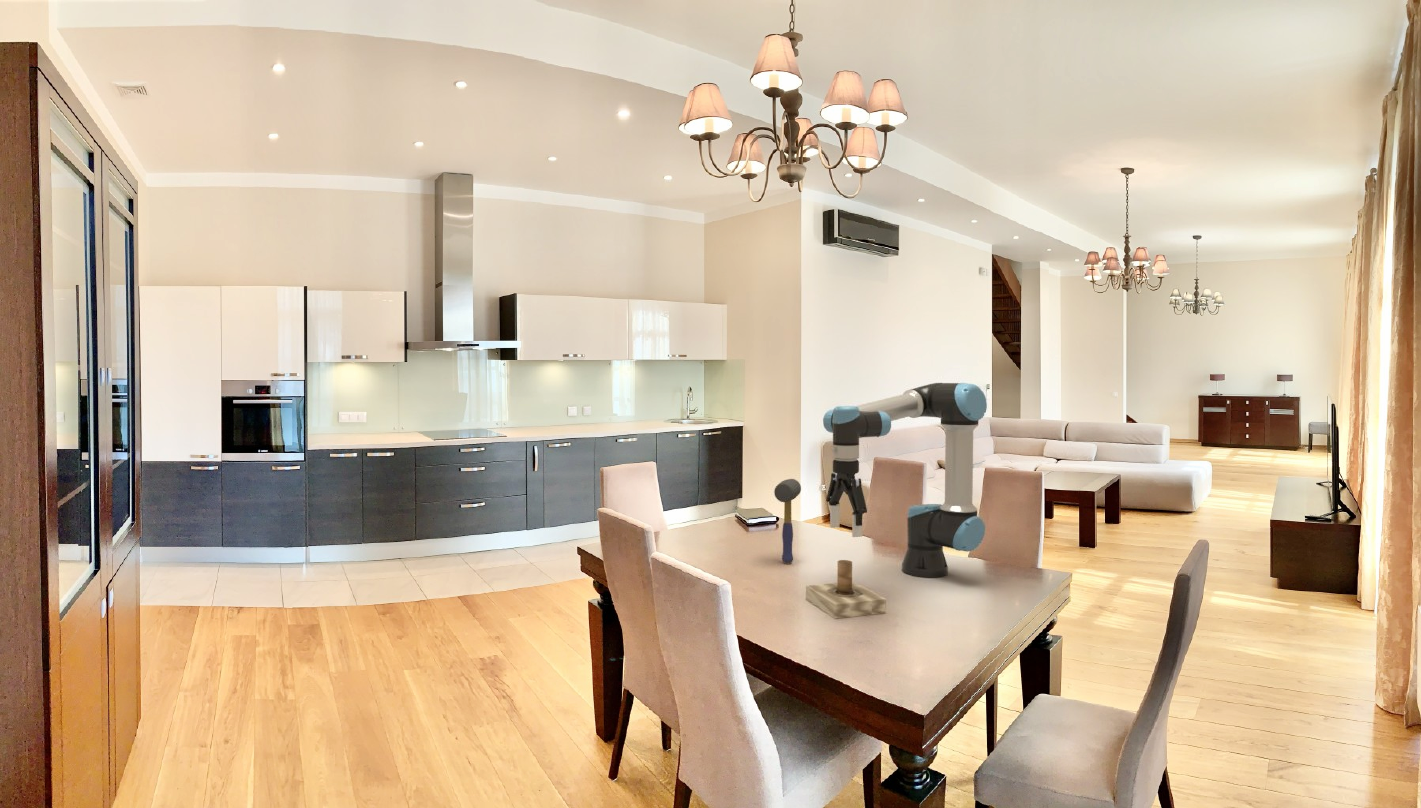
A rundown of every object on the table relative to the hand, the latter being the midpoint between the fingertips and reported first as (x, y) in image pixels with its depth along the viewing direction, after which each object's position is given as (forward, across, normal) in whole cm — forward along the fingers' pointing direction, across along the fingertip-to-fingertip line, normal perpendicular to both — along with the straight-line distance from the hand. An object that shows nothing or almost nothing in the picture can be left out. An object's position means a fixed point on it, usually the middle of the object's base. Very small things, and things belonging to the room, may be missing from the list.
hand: (845, 531), depth 222 cm
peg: (+22, 0, 0) cm, 22 cm away
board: (+22, 0, 0) cm, 22 cm away
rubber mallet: (+22, -50, +4) cm, 55 cm away
